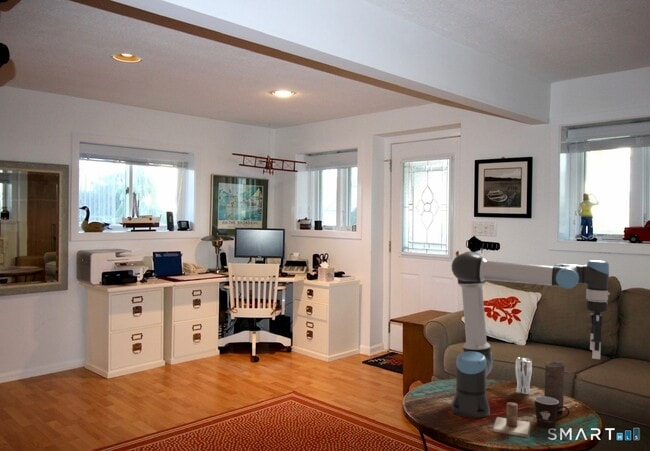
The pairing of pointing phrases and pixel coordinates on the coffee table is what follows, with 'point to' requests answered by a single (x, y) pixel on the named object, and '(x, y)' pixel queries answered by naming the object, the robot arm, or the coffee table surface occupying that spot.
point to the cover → (511, 422)
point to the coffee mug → (547, 411)
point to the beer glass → (523, 375)
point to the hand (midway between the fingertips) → (594, 354)
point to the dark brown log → (554, 381)
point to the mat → (512, 434)
